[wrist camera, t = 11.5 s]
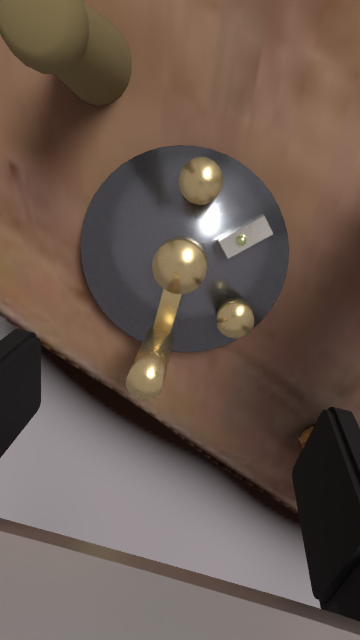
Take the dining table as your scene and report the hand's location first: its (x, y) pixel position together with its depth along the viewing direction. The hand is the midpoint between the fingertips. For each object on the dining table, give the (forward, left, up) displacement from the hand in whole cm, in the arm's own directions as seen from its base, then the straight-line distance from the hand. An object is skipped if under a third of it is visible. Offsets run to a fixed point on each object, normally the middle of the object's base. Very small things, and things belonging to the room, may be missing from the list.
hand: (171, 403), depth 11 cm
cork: (+13, -12, -25) cm, 30 cm away
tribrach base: (+2, +2, -25) cm, 25 cm away
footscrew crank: (+2, +5, -22) cm, 23 cm away
